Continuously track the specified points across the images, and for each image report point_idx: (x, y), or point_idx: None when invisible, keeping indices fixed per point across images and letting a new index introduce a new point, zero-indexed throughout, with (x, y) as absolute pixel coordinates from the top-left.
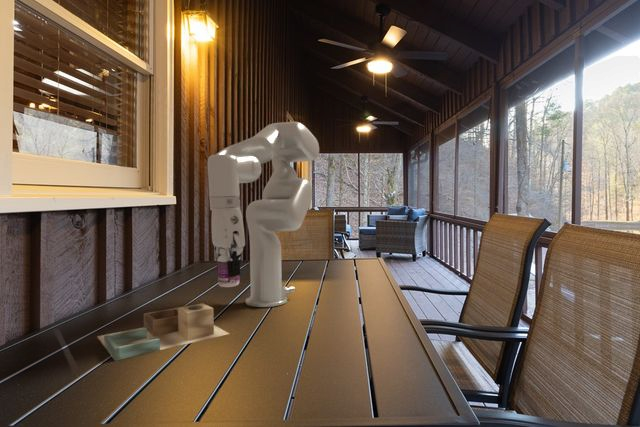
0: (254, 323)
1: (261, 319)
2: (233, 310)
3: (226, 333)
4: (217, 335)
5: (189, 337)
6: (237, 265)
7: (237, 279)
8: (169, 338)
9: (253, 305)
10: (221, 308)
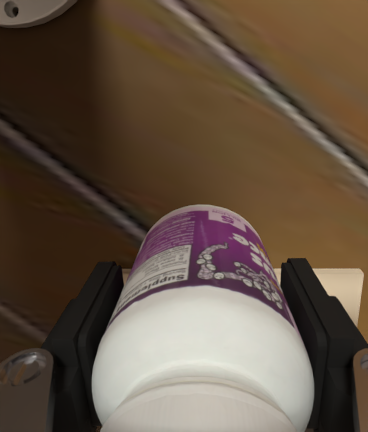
0: (284, 134)
1: (256, 84)
2: (61, 119)
3: (353, 280)
4: (348, 307)
5: None
6: (356, 336)
7: (263, 247)
8: None
9: (55, 15)
10: (6, 147)
